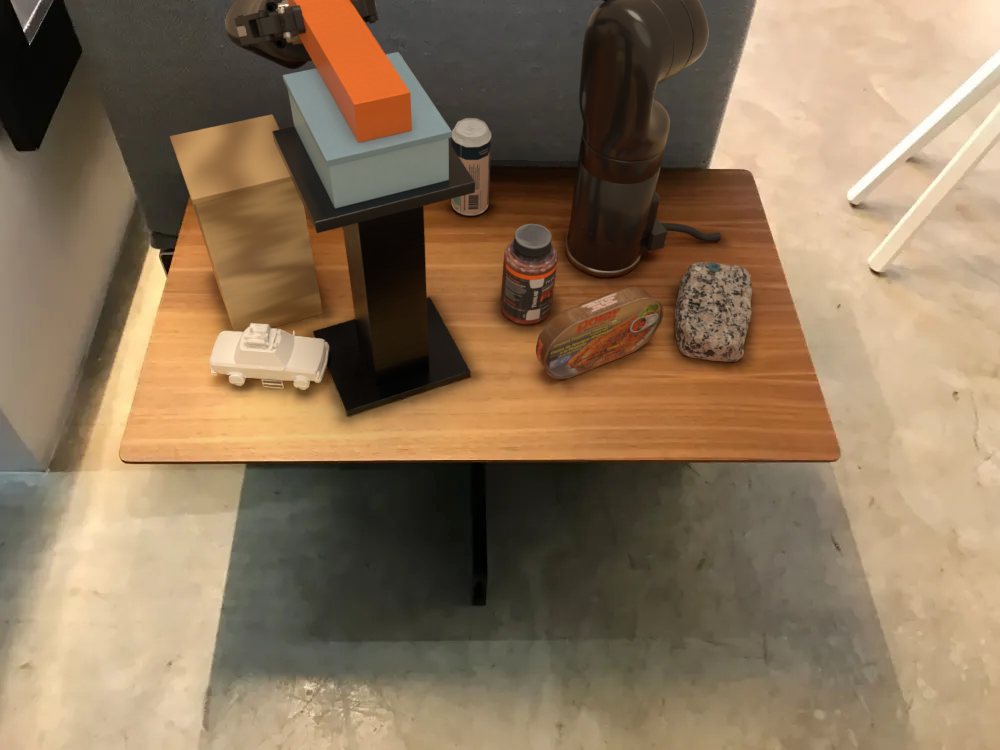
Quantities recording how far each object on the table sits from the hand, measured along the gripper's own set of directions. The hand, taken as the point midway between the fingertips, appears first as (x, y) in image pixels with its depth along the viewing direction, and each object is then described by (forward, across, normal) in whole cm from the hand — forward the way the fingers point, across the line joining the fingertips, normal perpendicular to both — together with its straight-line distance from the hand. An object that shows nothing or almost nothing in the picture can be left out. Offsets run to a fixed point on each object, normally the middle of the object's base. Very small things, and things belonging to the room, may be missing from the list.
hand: (329, 14), depth 73 cm
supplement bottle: (-10, +17, +35) cm, 40 cm away
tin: (-2, +21, +40) cm, 45 cm away
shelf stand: (-9, 0, +35) cm, 36 cm away
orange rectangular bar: (+2, 0, +5) cm, 5 cm away
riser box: (-21, -10, +28) cm, 37 cm away
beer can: (-26, +18, +25) cm, 41 cm away
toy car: (-12, -12, +34) cm, 38 cm away
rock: (-1, +36, +40) cm, 54 cm away
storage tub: (+3, 0, +11) cm, 12 cm away
